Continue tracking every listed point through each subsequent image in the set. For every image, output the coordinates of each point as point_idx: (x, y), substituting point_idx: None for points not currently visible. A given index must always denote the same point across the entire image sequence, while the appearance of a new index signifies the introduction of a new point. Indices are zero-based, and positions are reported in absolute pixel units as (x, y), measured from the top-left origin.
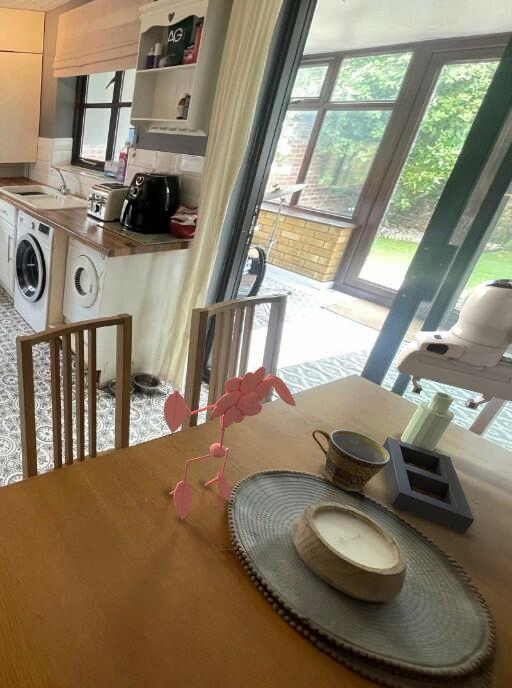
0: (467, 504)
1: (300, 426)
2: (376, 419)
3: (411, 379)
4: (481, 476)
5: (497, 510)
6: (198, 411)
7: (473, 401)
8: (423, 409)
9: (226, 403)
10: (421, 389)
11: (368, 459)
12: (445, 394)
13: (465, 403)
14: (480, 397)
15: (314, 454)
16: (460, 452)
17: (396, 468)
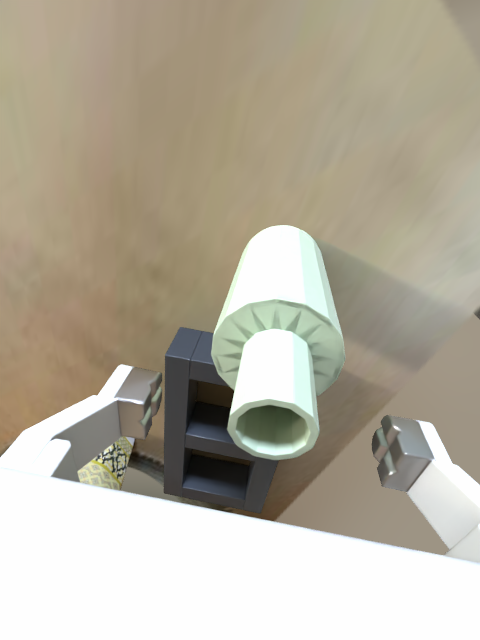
0: (265, 493)
1: (6, 310)
2: (191, 153)
3: (59, 422)
4: (397, 340)
5: (354, 427)
6: None
7: (410, 478)
8: (218, 371)
9: None
10: (143, 434)
11: (106, 472)
12: (290, 408)
13: (387, 423)
14: (462, 512)
15: (57, 392)
16: (412, 246)
17: (167, 449)
